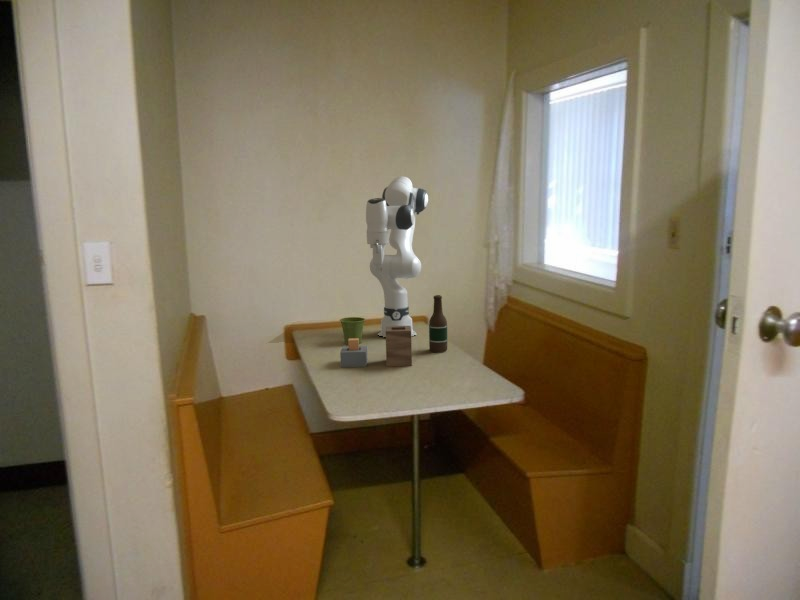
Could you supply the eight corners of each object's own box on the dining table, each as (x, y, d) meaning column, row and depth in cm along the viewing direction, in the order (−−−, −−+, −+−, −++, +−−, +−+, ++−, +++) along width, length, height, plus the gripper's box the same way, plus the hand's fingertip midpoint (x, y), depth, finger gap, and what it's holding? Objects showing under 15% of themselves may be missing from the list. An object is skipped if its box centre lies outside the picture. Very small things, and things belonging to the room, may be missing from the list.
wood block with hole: (387, 359, 245) (386, 326, 243) (411, 358, 245) (410, 325, 243) (386, 366, 235) (385, 331, 233) (411, 365, 235) (411, 330, 233)
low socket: (343, 360, 245) (342, 346, 244) (367, 360, 245) (367, 345, 244) (340, 367, 236) (340, 352, 235) (366, 366, 236) (365, 351, 235)
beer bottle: (438, 353, 253) (437, 297, 249) (425, 350, 259) (424, 295, 255) (451, 350, 258) (450, 295, 254) (438, 347, 264) (438, 293, 260)
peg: (349, 357, 242) (348, 338, 240) (359, 357, 242) (358, 338, 240) (349, 359, 239) (348, 340, 237) (359, 359, 239) (358, 340, 237)
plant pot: (363, 346, 268) (362, 322, 266) (337, 346, 270) (336, 321, 268) (368, 340, 280) (368, 316, 278) (344, 340, 282) (343, 316, 280)
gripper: (384, 241, 231) (386, 276, 233) (386, 236, 251) (387, 269, 253) (368, 241, 231) (370, 277, 233) (371, 237, 251) (372, 269, 254)
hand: (379, 273), depth 244 cm, fingers open, 8 cm apart
